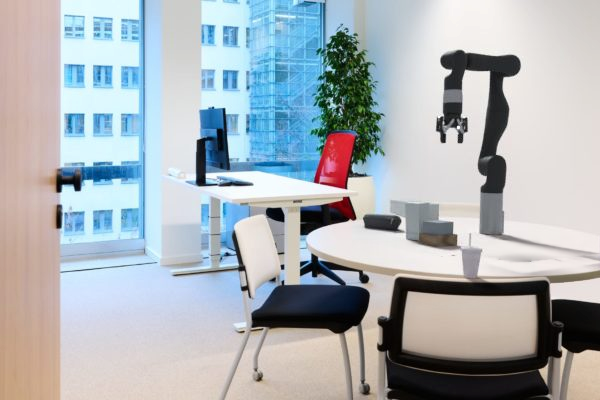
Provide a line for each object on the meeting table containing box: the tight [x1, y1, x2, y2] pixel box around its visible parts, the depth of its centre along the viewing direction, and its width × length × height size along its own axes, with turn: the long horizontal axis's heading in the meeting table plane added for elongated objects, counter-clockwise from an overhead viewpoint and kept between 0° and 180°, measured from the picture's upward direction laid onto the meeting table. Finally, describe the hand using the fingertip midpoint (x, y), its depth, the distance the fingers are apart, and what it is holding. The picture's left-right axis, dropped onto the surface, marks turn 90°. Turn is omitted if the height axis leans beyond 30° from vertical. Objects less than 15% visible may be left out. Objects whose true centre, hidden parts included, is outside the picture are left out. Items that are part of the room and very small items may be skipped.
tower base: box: [418, 233, 458, 248], centre depth 240 cm, size 10×10×4 cm
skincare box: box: [405, 201, 430, 242], centre depth 252 cm, size 8×6×15 cm
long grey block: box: [389, 198, 440, 220], centre depth 316 cm, size 32×11×11 cm, turn 16°
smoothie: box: [460, 232, 483, 279], centre depth 192 cm, size 6×6×14 cm
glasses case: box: [362, 213, 402, 231], centre depth 278 cm, size 18×10×8 cm, turn 57°
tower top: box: [422, 219, 454, 235], centre depth 239 cm, size 8×8×4 cm
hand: (451, 143), depth 253 cm, fingers open, 8 cm apart
